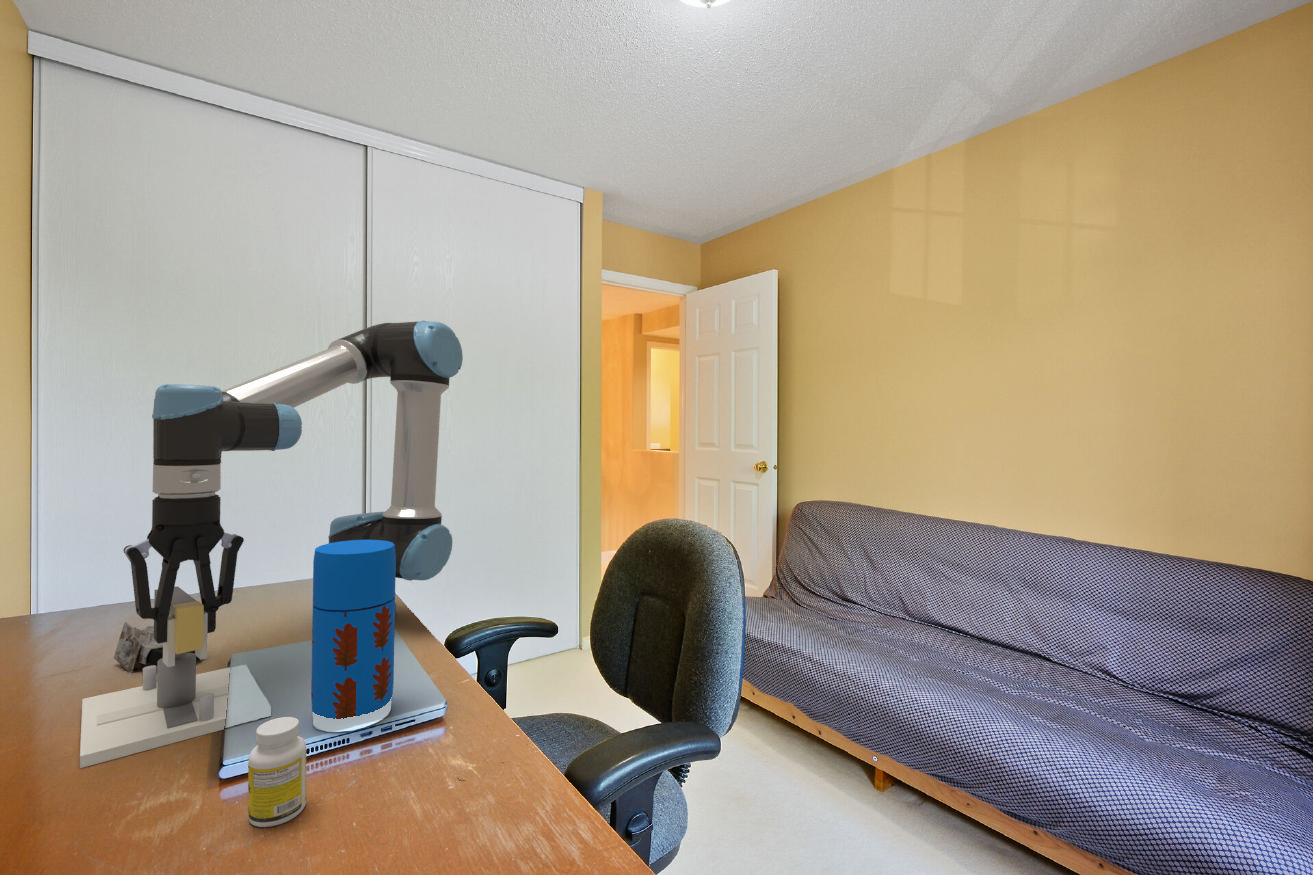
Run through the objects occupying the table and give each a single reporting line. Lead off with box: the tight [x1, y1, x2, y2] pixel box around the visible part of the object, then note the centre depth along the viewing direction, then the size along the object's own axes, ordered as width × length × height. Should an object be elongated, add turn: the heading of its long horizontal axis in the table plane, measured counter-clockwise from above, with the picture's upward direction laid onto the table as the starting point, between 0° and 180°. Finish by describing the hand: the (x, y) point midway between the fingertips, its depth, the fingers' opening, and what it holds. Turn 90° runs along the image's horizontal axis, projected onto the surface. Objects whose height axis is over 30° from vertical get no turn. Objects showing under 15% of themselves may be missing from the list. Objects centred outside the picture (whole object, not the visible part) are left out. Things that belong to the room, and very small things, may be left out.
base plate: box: [79, 653, 230, 769], centre depth 86 cm, size 20×20×8 cm
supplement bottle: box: [247, 716, 307, 828], centre depth 65 cm, size 5×5×10 cm
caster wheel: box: [113, 621, 201, 674], centre depth 104 cm, size 7×11×10 cm
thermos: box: [310, 540, 396, 719], centre depth 87 cm, size 11×11×25 cm
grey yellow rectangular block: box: [153, 586, 204, 658], centre depth 86 cm, size 14×3×9 cm, turn 50°
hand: (185, 659), depth 83 cm, fingers closed on grey yellow rectangular block, 3 cm apart
